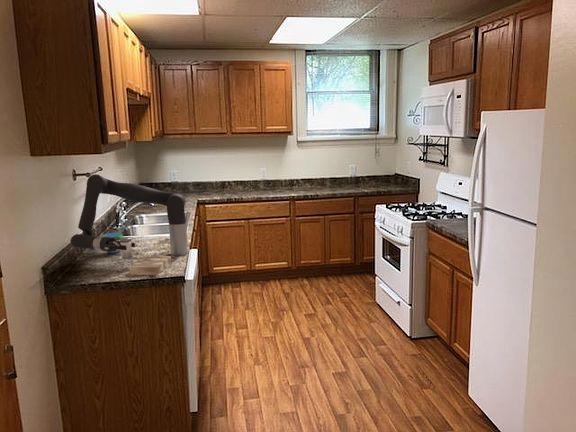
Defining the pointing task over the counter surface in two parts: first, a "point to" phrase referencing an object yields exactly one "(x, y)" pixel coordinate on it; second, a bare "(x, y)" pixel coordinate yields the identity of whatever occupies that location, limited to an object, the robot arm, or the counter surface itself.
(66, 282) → the counter surface
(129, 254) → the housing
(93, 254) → the counter surface
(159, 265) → the stand
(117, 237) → the snack cup
